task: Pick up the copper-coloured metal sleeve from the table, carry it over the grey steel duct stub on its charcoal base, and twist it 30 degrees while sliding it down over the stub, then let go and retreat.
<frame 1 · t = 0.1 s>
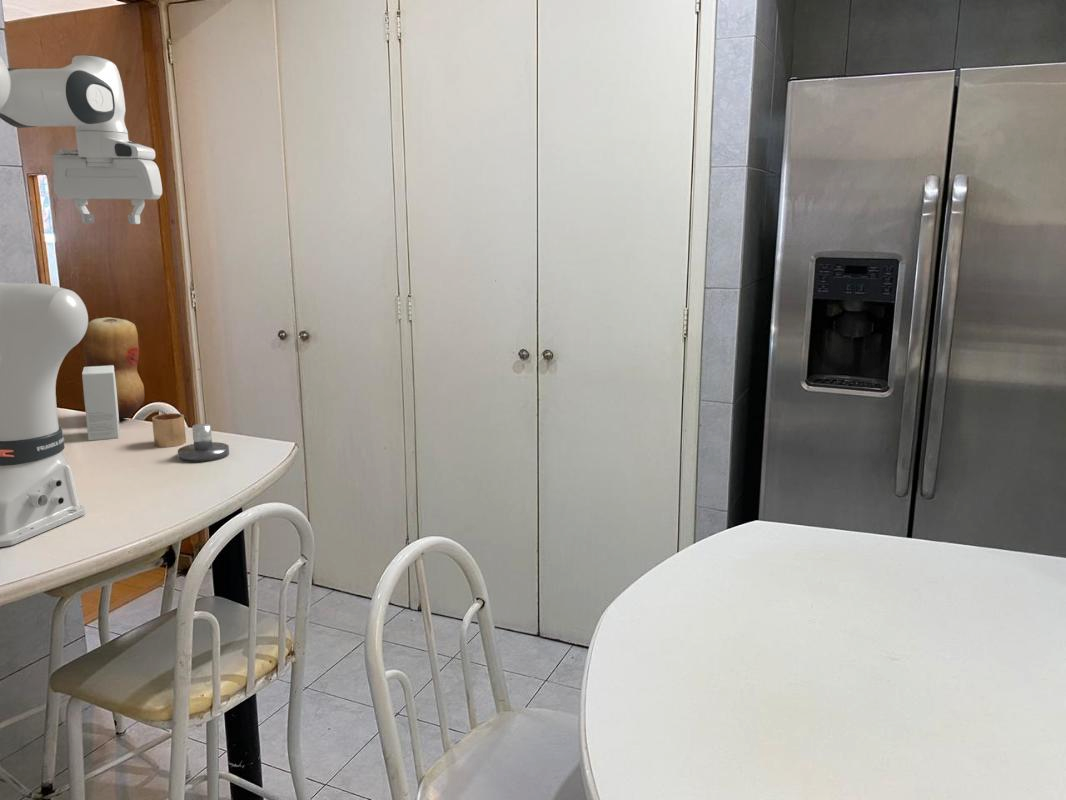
hand: (111, 223, 159), 48 cm above the table, fingers open, 8 cm apart
sleeve: (170, 443, 182), on the table
duct stub: (204, 455, 173), on the table
skincare box: (105, 436, 188), on the table
butternut squash: (117, 420, 202), on the table
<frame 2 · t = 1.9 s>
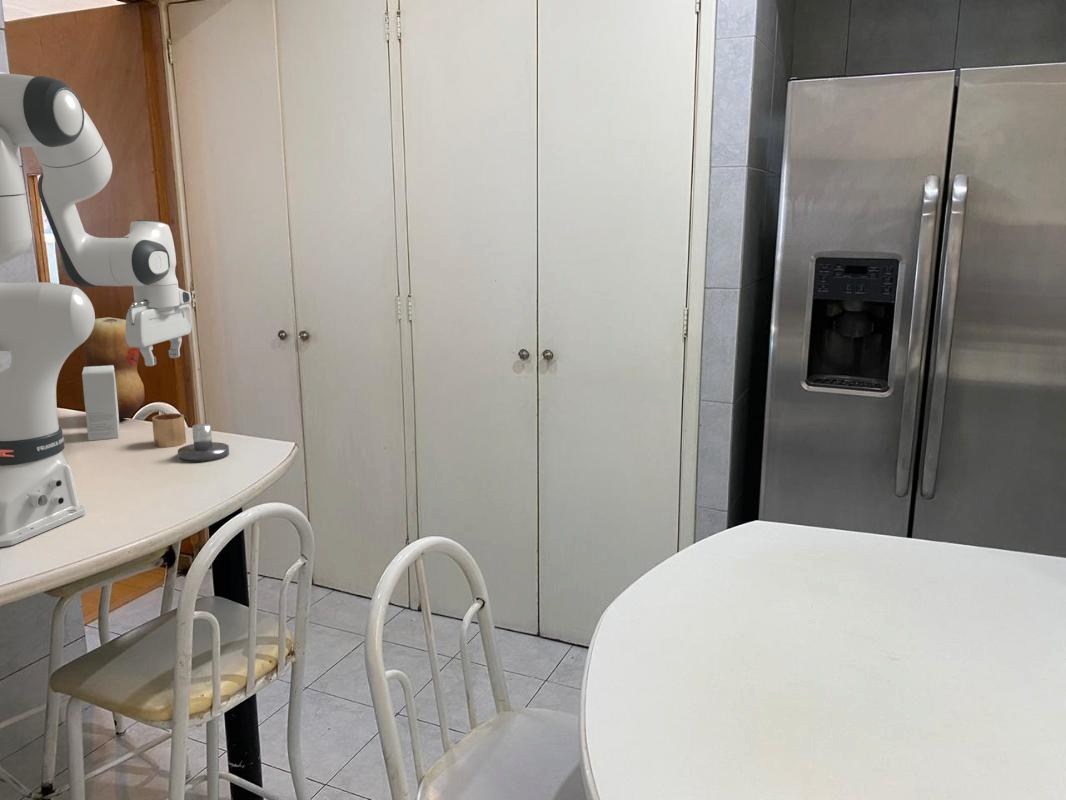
hand: (163, 361, 178), 18 cm above the table, fingers open, 8 cm apart
nothing on the table moved.
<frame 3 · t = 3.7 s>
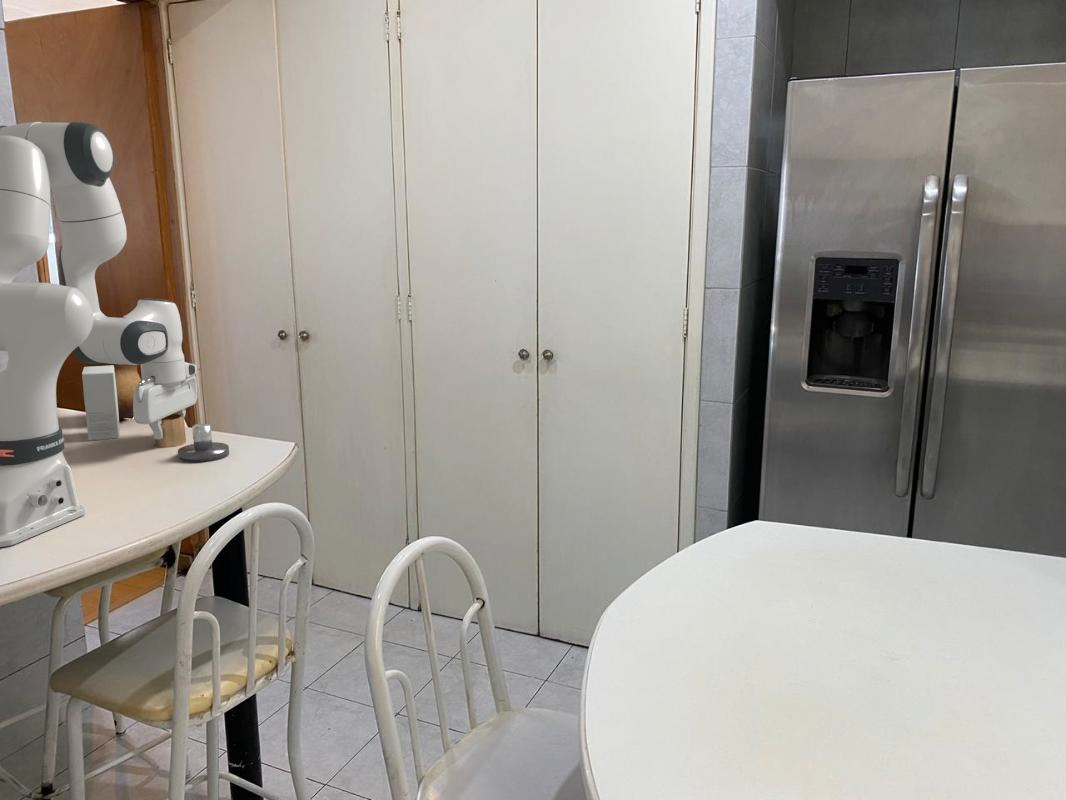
hand: (169, 433, 182), 2 cm above the table, fingers closed on sleeve, 6 cm apart
sleeve: (170, 443, 182), on the table, touching gripper
everything else where it was.
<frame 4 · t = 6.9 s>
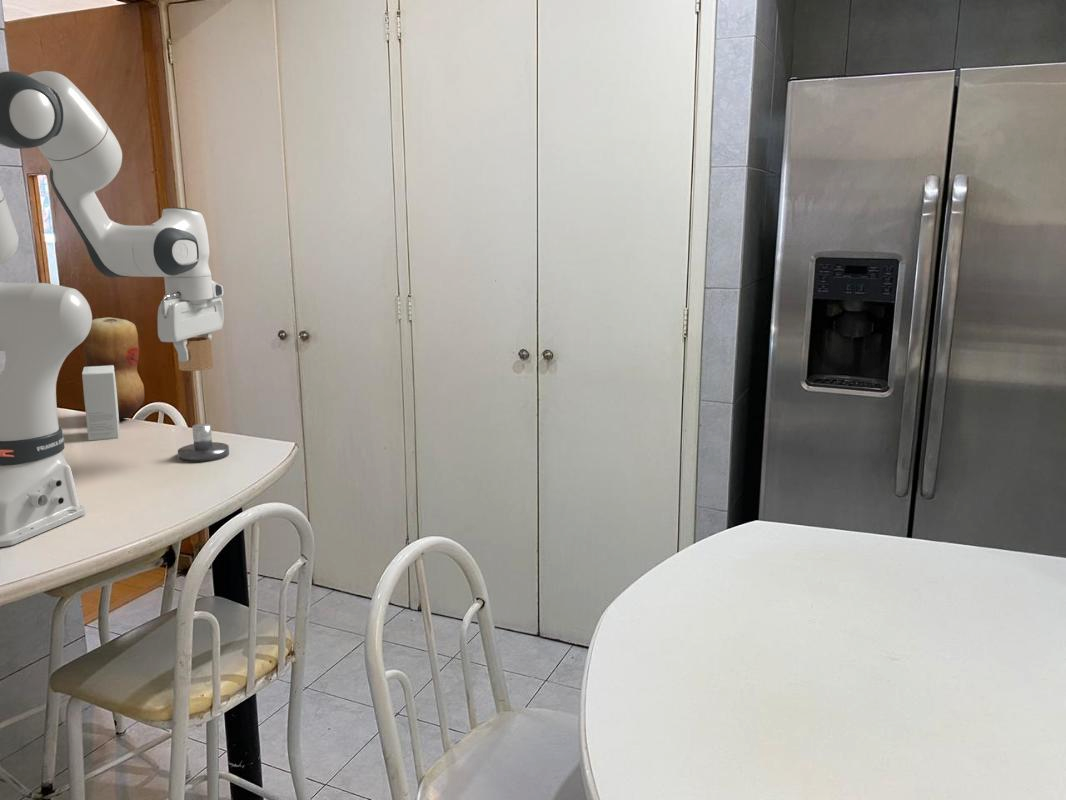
hand: (194, 357, 169), 21 cm above the table, fingers closed on sleeve, 6 cm apart
sleeve: (195, 368, 169), point 19 cm above the table, touching gripper
everything else where it was.
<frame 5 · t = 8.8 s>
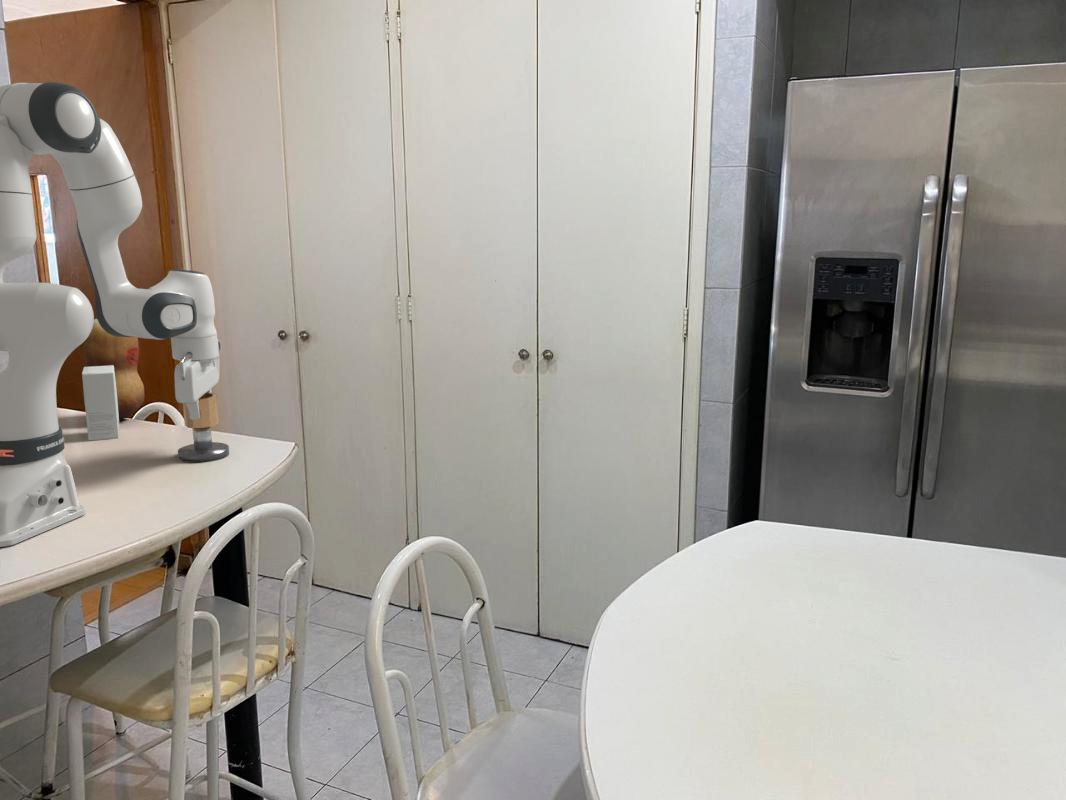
hand: (200, 414, 171), 9 cm above the table, fingers closed on sleeve, 6 cm apart
sleeve: (201, 423, 172), point 7 cm above the table, touching gripper
everything else where it was.
when the fingers open (5 cm above the table, at t = 10.1 s): sleeve drops 1 cm, resting on duct stub.
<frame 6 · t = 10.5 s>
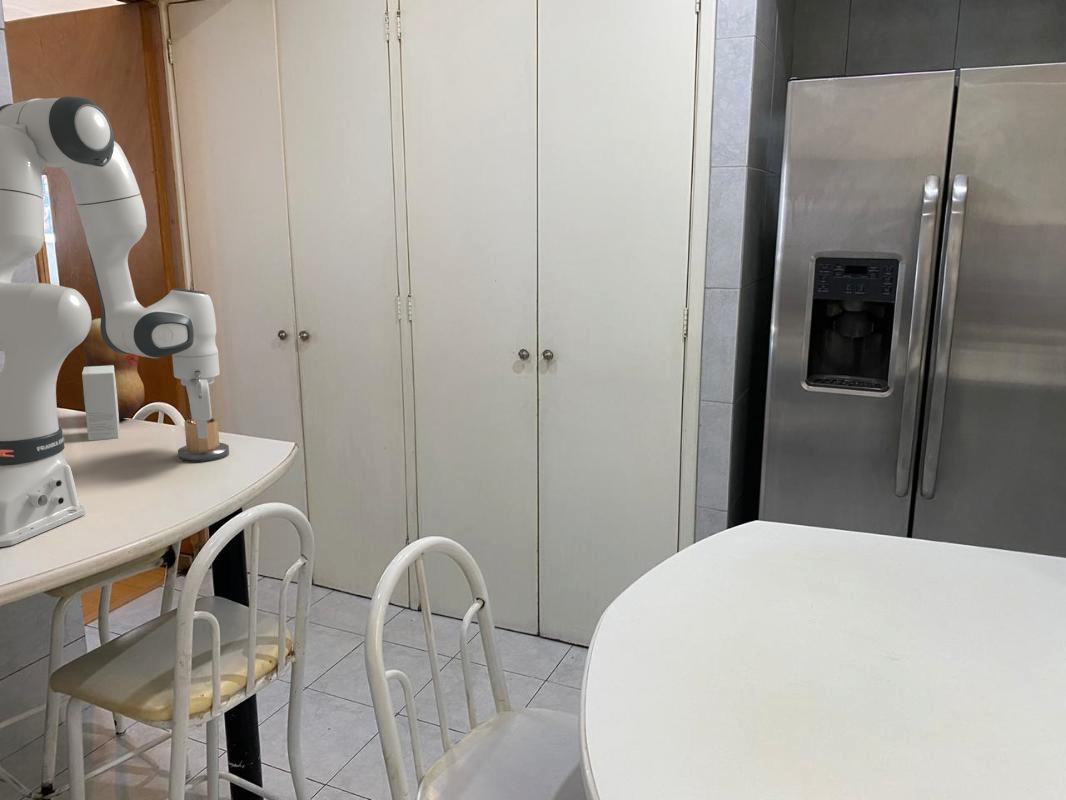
hand: (201, 432, 172), 5 cm above the table, fingers open, 8 cm apart
sleeve: (203, 448, 173), point 1 cm above the table, touching duct stub
everything else where it was.
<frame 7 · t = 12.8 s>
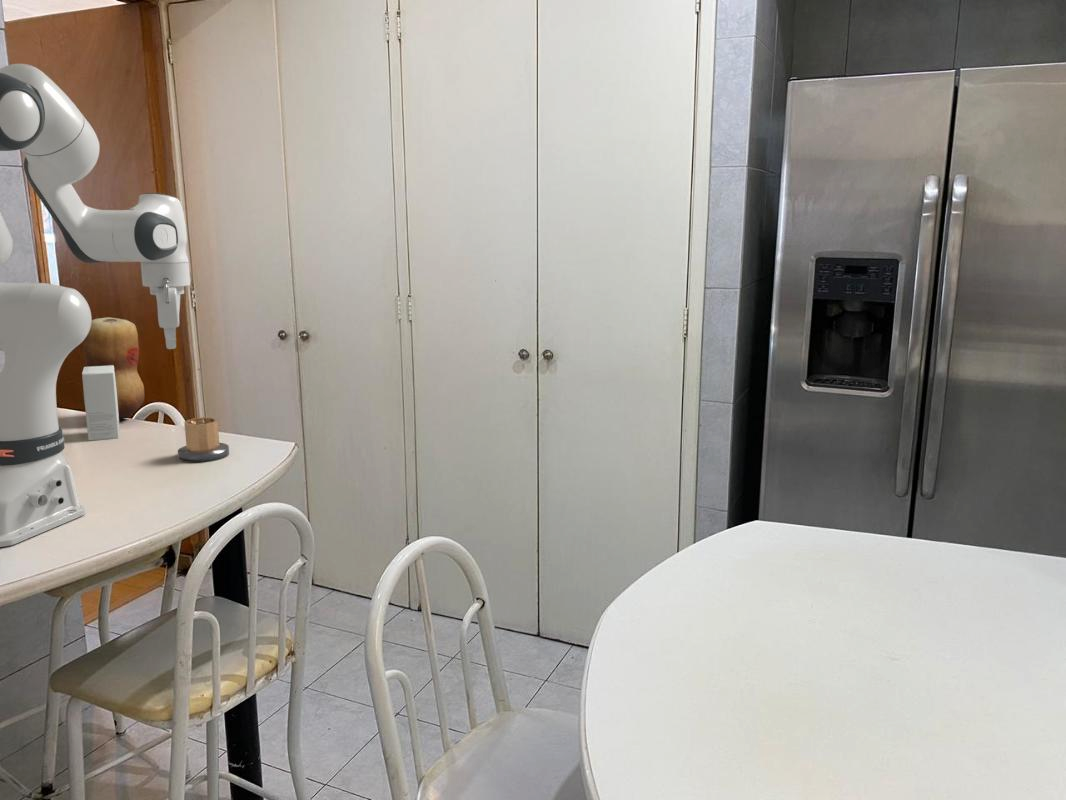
hand: (171, 345, 167), 24 cm above the table, fingers open, 8 cm apart
nothing on the table moved.
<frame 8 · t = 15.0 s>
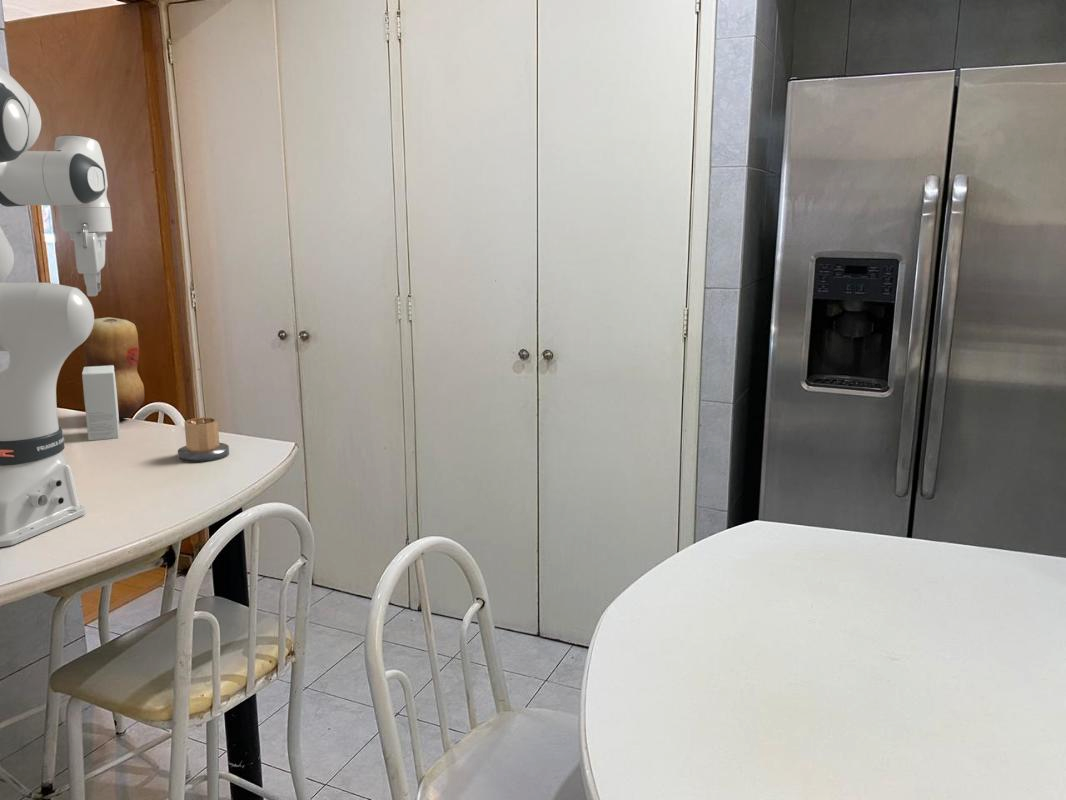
hand: (94, 293, 164), 34 cm above the table, fingers open, 8 cm apart
nothing on the table moved.
at the end: sleeve 0.1 cm off-centre on the duct stub, point 1.5 cm above the duct stub's base; sleeve tilted 0°; the gripper is holding nothing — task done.
